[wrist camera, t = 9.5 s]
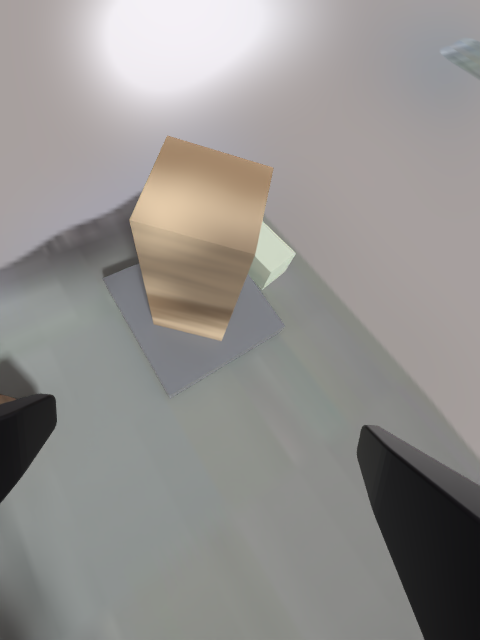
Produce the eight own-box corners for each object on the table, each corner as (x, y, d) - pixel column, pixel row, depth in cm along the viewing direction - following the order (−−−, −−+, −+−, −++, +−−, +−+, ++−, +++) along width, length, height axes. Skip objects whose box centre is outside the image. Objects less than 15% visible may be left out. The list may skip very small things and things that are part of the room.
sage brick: (284, 272, 27) (295, 253, 25) (261, 290, 26) (271, 272, 23) (239, 228, 28) (246, 205, 26) (216, 243, 27) (220, 221, 24)
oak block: (221, 341, 22) (255, 254, 12) (153, 324, 21) (129, 220, 11) (234, 283, 24) (273, 167, 14) (173, 266, 23) (167, 135, 13)
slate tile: (169, 398, 21) (169, 395, 20) (106, 287, 23) (102, 278, 22) (279, 332, 25) (285, 325, 23) (215, 241, 27) (217, 230, 26)
